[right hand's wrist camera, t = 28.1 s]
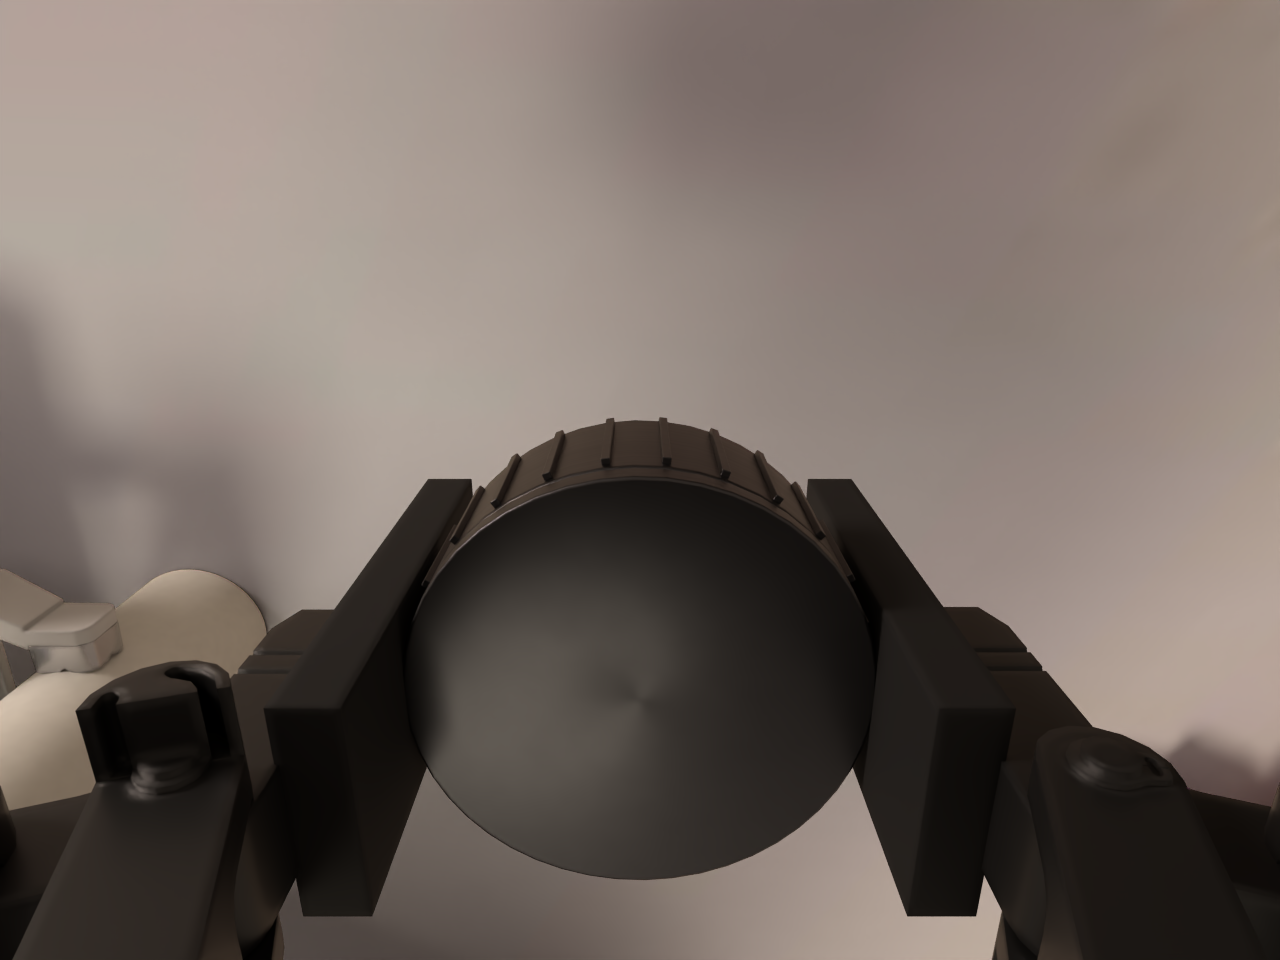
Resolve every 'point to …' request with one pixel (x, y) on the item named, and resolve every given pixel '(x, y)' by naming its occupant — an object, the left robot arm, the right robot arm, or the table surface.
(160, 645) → the cream cylindrical bottle
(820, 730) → the lid
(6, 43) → the table surface
